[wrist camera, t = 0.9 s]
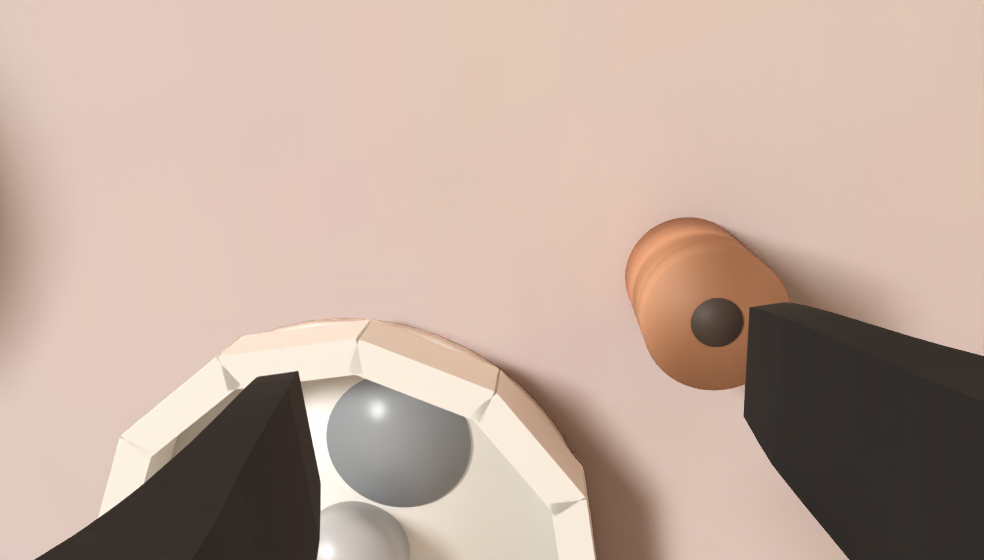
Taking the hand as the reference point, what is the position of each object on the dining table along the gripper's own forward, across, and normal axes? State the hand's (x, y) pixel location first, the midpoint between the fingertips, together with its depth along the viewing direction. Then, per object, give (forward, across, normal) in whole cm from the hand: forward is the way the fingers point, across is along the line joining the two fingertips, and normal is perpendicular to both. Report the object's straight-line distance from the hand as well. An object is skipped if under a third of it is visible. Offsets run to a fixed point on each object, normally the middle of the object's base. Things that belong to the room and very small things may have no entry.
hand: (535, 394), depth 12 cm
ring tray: (+14, +5, +13) cm, 20 cm away
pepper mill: (+12, -8, +4) cm, 15 cm away
